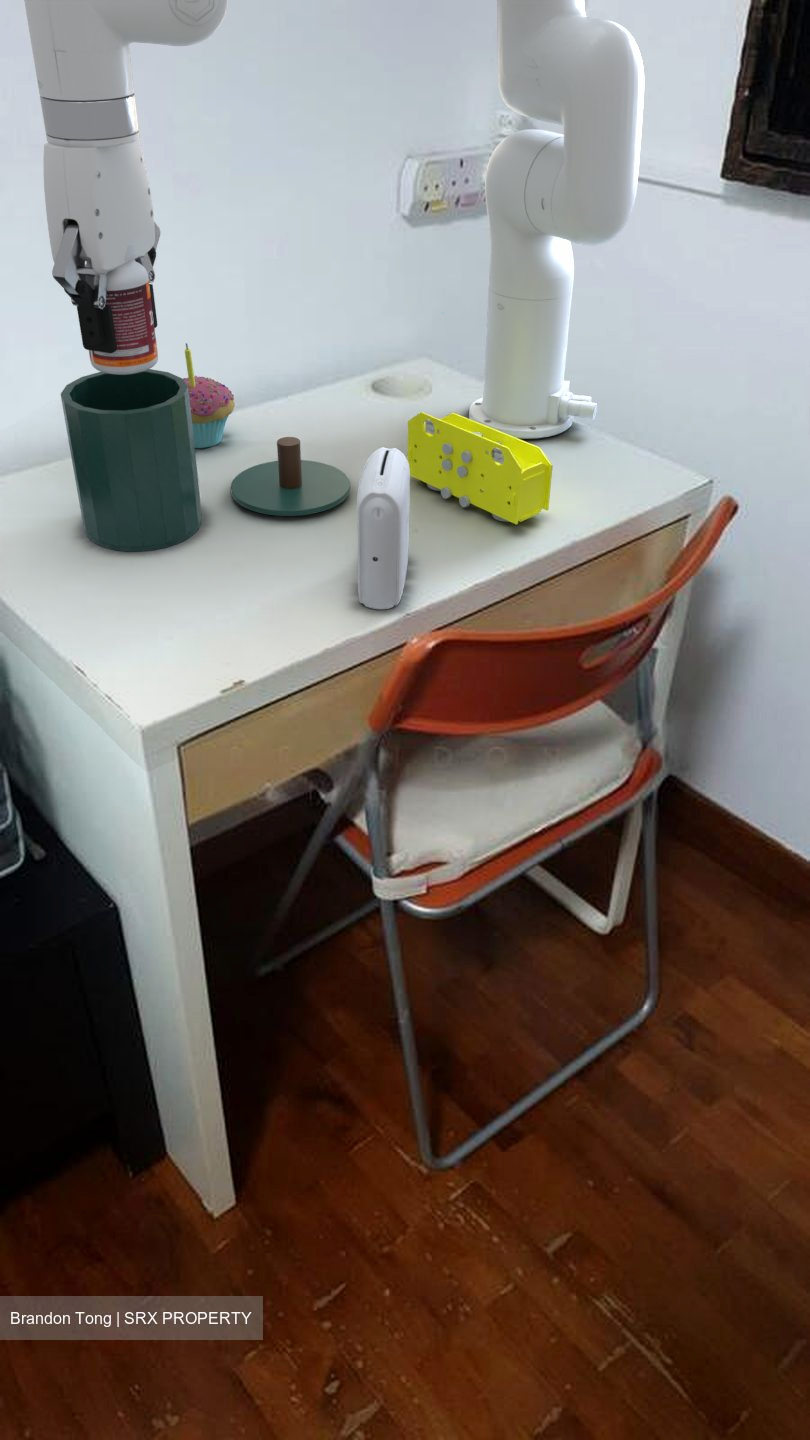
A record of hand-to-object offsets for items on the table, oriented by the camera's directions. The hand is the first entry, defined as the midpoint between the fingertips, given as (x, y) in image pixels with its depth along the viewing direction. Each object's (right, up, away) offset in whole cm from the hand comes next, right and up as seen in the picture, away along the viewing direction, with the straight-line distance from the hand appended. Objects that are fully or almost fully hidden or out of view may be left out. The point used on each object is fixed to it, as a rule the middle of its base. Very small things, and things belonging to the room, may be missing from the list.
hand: (121, 336), depth 105 cm
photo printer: (+24, -22, +3) cm, 33 cm away
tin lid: (+14, -11, +17) cm, 24 cm away
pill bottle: (0, -2, +2) cm, 3 cm away
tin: (-1, -15, +11) cm, 19 cm away
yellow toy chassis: (+33, -12, +17) cm, 39 cm away
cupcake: (+2, -3, +29) cm, 29 cm away
